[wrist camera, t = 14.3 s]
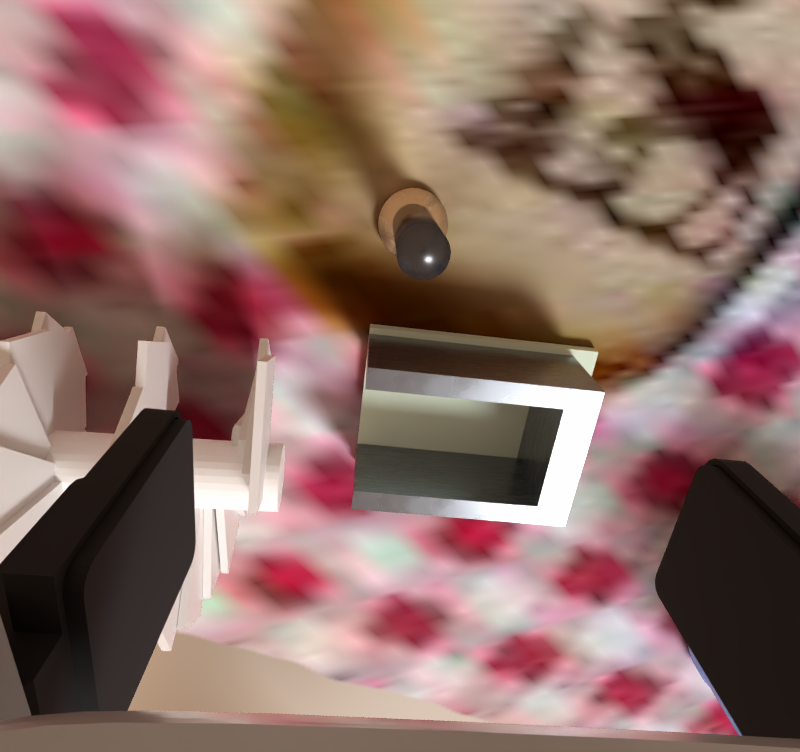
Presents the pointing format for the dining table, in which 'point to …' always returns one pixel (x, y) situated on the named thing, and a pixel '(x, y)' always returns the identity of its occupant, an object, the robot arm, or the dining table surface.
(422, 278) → the stand
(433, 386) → the c link
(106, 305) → the dining table surface
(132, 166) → the dining table surface
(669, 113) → the dining table surface
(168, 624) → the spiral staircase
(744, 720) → the robot arm
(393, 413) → the board
